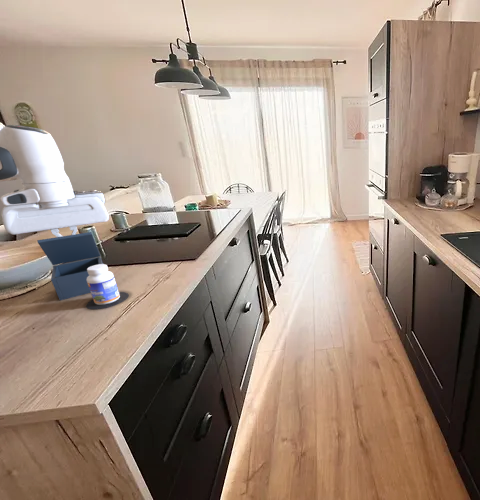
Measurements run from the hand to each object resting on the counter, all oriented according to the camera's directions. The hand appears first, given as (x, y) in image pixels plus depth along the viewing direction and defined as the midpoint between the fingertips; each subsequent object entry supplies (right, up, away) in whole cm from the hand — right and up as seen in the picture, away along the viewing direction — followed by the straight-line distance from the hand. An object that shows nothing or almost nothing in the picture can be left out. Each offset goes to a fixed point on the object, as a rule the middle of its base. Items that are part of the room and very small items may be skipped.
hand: (69, 242), depth 80 cm
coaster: (+14, -16, -3) cm, 21 cm away
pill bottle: (+14, -16, -3) cm, 21 cm away
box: (+1, -13, +4) cm, 14 cm away
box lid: (0, -2, +1) cm, 2 cm away
